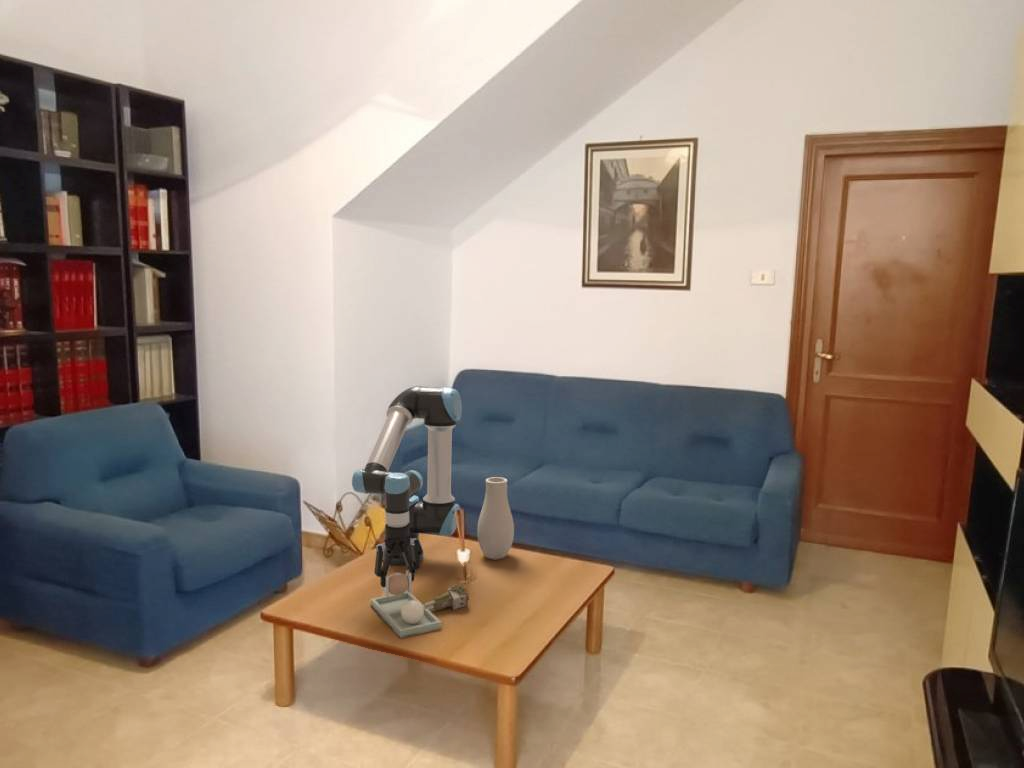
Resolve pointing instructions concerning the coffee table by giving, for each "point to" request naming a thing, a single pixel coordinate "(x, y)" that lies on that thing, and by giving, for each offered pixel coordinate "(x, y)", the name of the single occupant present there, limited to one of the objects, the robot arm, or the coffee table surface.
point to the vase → (495, 520)
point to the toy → (450, 599)
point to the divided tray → (392, 616)
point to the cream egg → (412, 611)
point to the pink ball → (398, 583)
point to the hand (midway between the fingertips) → (397, 593)
